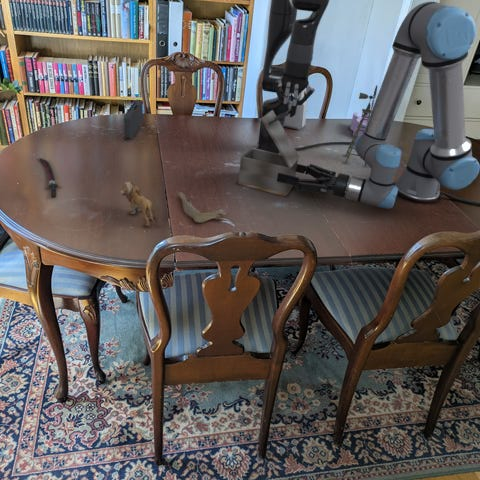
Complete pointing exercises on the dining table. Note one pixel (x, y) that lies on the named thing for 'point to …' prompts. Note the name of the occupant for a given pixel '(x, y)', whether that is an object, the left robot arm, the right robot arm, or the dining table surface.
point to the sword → (52, 181)
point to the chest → (265, 171)
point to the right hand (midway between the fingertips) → (282, 171)
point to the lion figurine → (137, 201)
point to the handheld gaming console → (133, 119)
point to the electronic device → (300, 115)
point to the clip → (356, 122)
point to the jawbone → (195, 213)
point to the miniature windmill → (366, 112)
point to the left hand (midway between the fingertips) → (288, 115)
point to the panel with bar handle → (280, 136)
